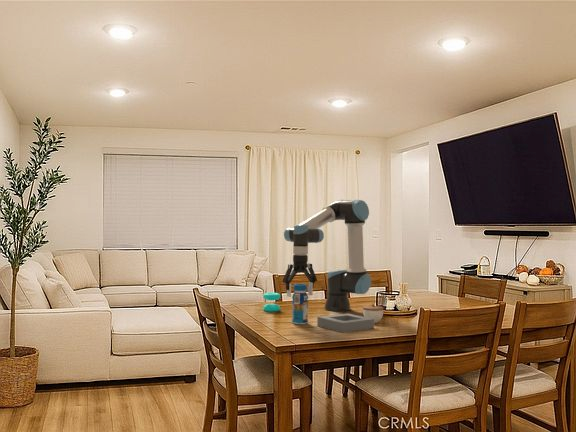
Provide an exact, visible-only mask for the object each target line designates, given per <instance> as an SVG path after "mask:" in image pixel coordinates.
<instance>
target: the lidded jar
mask: <svg viewBox="0 0 576 432" xmlns="http://www.w3.org/2000/svg"><path fill="white" fill-rule="evenodd" d="M362 313H363V317H366V318H371V319H374V324H375V323H376V324H377V322H378V323H380V321H381V320H382V318H383V317H384V316H383V315H384V307H383V306H381V305H375V304H374V303H372V304H371V305H364V306H362Z"/></svg>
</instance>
